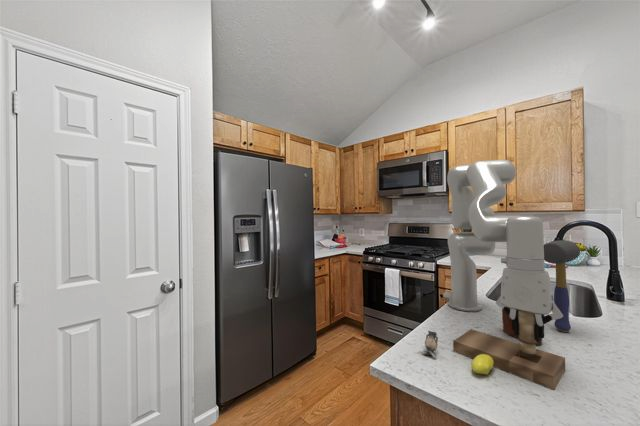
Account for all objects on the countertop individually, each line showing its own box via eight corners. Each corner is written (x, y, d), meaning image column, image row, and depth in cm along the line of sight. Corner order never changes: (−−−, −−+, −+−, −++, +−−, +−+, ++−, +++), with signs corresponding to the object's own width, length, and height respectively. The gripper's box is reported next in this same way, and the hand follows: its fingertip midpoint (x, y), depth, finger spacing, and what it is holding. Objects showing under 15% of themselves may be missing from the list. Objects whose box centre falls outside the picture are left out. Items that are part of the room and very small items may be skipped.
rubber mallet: (569, 340, 80) (566, 242, 81) (540, 331, 87) (537, 240, 87) (585, 330, 86) (582, 240, 87) (556, 322, 93) (553, 238, 93)
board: (453, 351, 75) (453, 340, 76) (471, 338, 83) (471, 329, 83) (554, 389, 58) (553, 376, 58) (565, 369, 66) (564, 357, 66)
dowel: (517, 350, 67) (515, 307, 67) (521, 346, 69) (520, 304, 69) (535, 356, 64) (533, 311, 64) (539, 351, 66) (537, 307, 66)
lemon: (499, 370, 66) (498, 354, 66) (483, 381, 62) (483, 365, 62) (481, 362, 70) (481, 347, 70) (465, 373, 65) (465, 357, 65)
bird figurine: (425, 346, 79) (426, 326, 79) (443, 354, 75) (445, 333, 75) (417, 353, 75) (418, 332, 75) (436, 361, 71) (437, 339, 71)
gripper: (483, 262, 71) (485, 330, 71) (566, 271, 58) (569, 355, 58) (493, 259, 76) (496, 323, 75) (572, 267, 63) (575, 344, 62)
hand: (527, 336), depth 67 cm, fingers closed on dowel, 3 cm apart
